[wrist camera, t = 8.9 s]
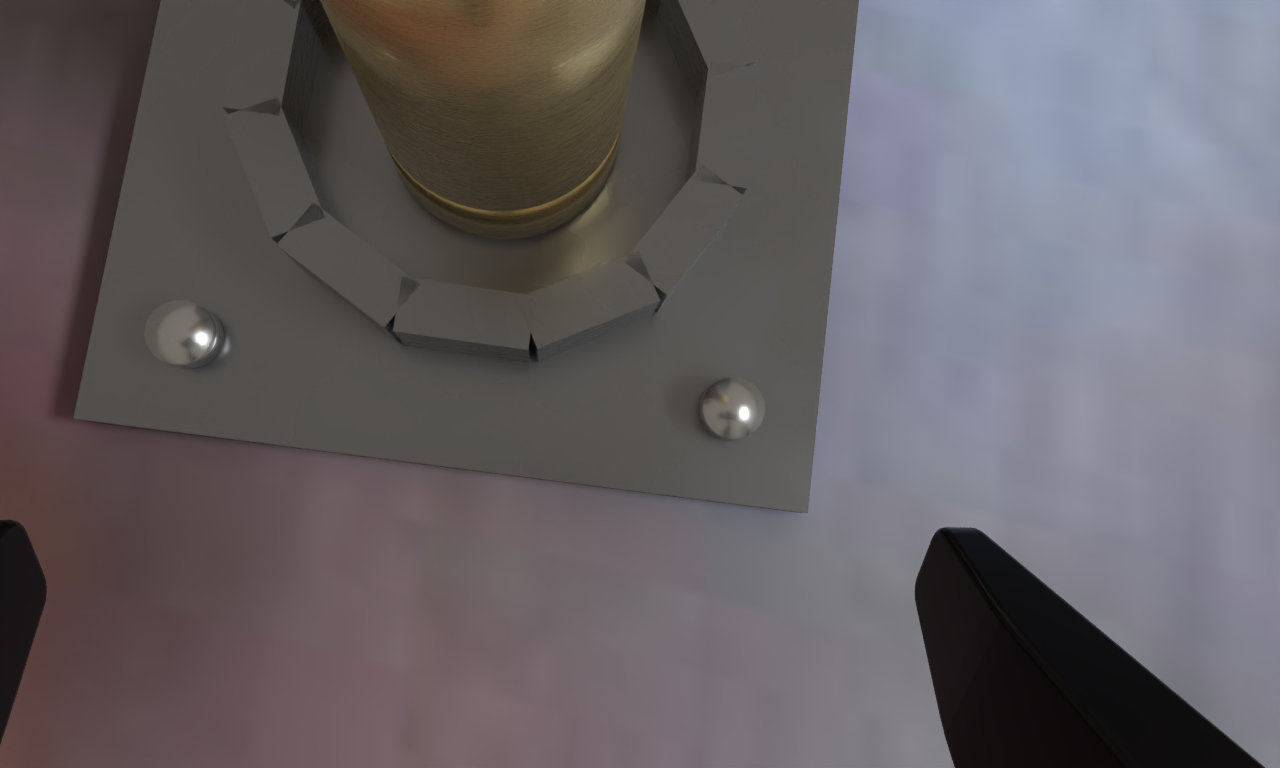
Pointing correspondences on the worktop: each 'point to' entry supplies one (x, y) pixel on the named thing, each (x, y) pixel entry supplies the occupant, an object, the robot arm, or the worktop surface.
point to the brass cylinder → (495, 101)
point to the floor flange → (484, 264)
